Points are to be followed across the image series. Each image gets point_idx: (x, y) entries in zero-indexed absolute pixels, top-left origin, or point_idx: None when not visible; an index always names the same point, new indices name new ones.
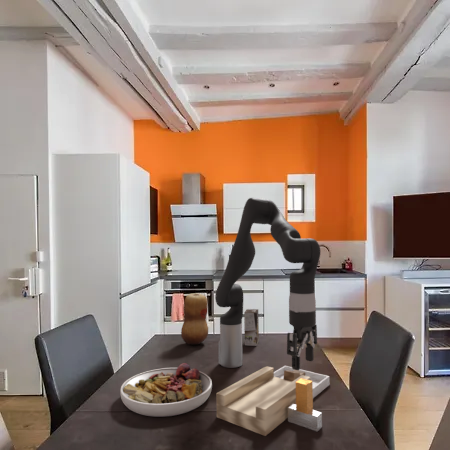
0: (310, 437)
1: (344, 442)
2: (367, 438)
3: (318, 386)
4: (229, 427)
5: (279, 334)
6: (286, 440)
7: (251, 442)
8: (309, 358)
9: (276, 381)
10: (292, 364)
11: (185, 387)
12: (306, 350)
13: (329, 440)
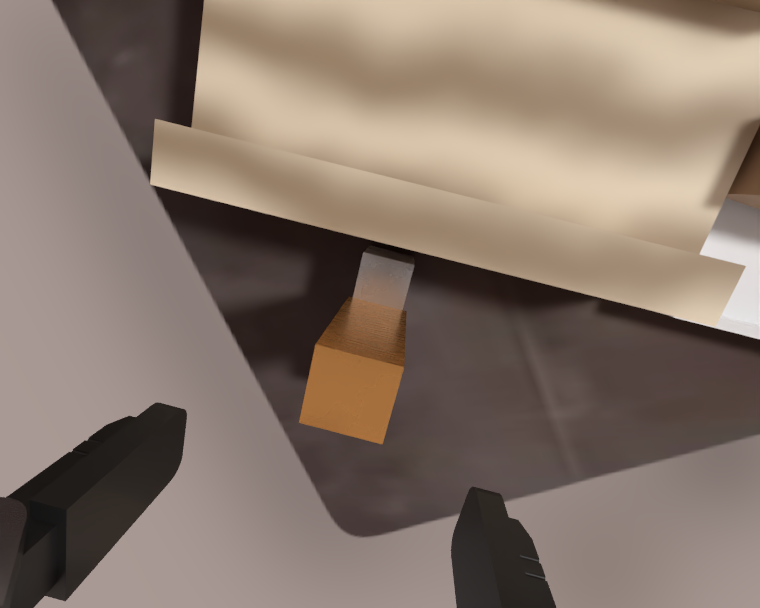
0: (292, 349)
1: (312, 451)
2: (368, 510)
3: (734, 331)
4: None
5: None
6: (233, 274)
7: None
8: (463, 538)
9: (706, 78)
10: (90, 441)
11: None
12: (490, 598)
13: None
